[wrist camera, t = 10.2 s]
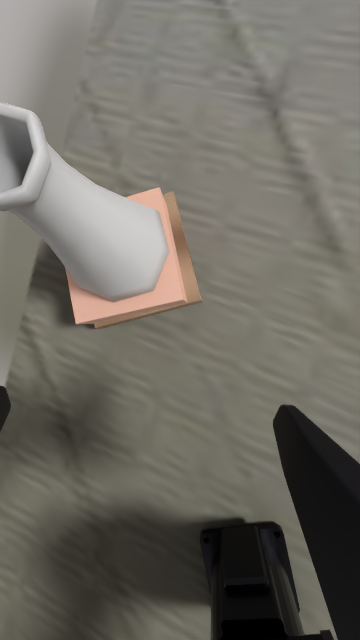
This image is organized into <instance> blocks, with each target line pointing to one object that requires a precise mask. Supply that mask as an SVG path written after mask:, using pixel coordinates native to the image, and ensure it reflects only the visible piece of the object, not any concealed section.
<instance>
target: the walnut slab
mask: <svg viewBox="0 0 360 640" xmlns="http://www.w3.org/2000/svg"><path fill="white" fill-rule="evenodd" d="M162 195H163V197H164V200H165V202H166V205H167V209H168V214H169V219H170V224H171V228H172V233H173V238H174V243H175V247H176V252H177V257H178V261H179V266H180V271H181V276H182V280H183V285H184V290H185V294H186V299H187V303H184V304H179V305H175V306H170V307H166V308H161V309H157V310H153V311H148V312H144V313H139V314H135V315H130V316H126V317H121V318H117V319H112V320H108V321H103V322H99V323H95V324H94V326H95V328H106V327H110V326H114V325H117V324H121V323H125V322H129V321H132V320H136V319H140V318H144V317H147V316H151V315H155V314H159V313H162V312H166V311H170V310H174V309H178V308H181V307H185V306H189V305H193V304H196V303H200V302H202V299H201V296H200V292H199V288H198V284H197V280H196V276H195V272H194V268H193V265H192V261H191V257H190V253H189V249H188V245H187V241H186V237H185V233H184V230H183V226H182V222H181V218H180V214H179V210H178V206H177V202H176V199H175V196H174V192H173V191H171V192H168V193H165V194H162Z"/></svg>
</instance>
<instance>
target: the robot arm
mask: <svg viewBox="0 0 360 640" xmlns="http://www.w3.org/2000/svg"><path fill="white" fill-rule="evenodd" d="M10 408H11V403H10V400H9V397H8V394H7V390H6V388H5V387H4V386H0V431H1V429H2V427H3V425H4V422H5V420H6V418H7V416H8V414H9V412H10ZM273 428H274V433H275V437H276V442H277V446H278V451H279V455H280V459H281V464H282V468H283V472H284V475H285V479H286V482H287V485H288V488H289V491H290V494H291V497H292V500H293V503H294V507H295V510H296V513H297V516H298V519H299V522H300V525H301V528H302V531H303V534H304V537H305V540H306V543H307V546H308V549H309V553H310V556H311V559H312V562H313V565H314V568H315V571H316V574H317V577H318V580H319V583H320V586H321V589H322V592H323V596H324V599H325V602H326V605H327V608H328V611H329V614H330V617H331V620H332V623H333V626H334V629H335V632H336V635H337V638H338V640H360V464H359V463H358V462H357V461H356V460H355V459H354V458H352V457H351V456H350V455H349V454H348V453H347V452H346V451H345V450H343V449H342V448H341V447H340V446H339V445H338V444H337V443H336V442H334V441H333V440H332V439H331V438H330V437H329V436H328V435H327V434H325V433H324V432H323V431H322V430H321V429H320V428H319V427H318V426H316V425H315V424H314V423H313V422H312V421H311V420H310V419H309V418H307V417H306V416H305V415H304V414H303V413H302V412H301V411H300V410H299V409H297V408H296V407H295V406H293V405H281V406H280V407H279V409H278V411H277V413H276V415H275V418H274V420H273ZM275 531H278V533H274V532H275ZM204 537H208V538H209V539H205V538H204ZM200 542H201V547H202V553H203V558H204V563H205V568H206V573H207V578H208V583H209V588H210V593H211V640H334V639H333V637H332V634H331V632H330V630H322V631H320V634H310V635H305V634H304V631H303V627H302V624H301V621H300V617H299V614H298V613H299V611H300V608H299V603H298V599H297V594H296V589H295V585H294V580H293V575H292V571H291V566H290V561H289V557H288V552H287V547H286V543H285V538H284V534H283V531H282V528H281V526H280V525H278V524H264V525H253V526H242V527H230V528H219V529H208V530H203V531H202V532H201V534H200Z"/></svg>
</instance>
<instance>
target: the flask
mask: <svg viewBox="0 0 360 640" xmlns="http://www.w3.org/2000/svg"><path fill="white" fill-rule="evenodd" d="M0 211H9V212H11V213H13V214H14V215H16V216H17V217H19V218H20V219H21V220H22V221H23V222H24V223H26V224H27V225H28V226H29V227H30V228H32V229H33V230H34V231H35V232H36V233H38V234H39V235H40V236H41V237H42V238H43V239H44V240H45V241H46V243H47V244H48V245H49V246H50V248H51V249H52V250H53V252H54V253H55V254H56V255H57V257H58V258H59V259H60V260H61V262H62V263H63V264H64V266H65V267H66V269H67V270H68V272H69V273H70V275H71V276H72V278H73V279H74V280H75V282H76V283H77V284H78V286H79V287H80V288H83V289H85V290H87V291H90V292H92V293H95V294H97V295H100V296H102V297H104V298H107V299H109V300H112V301H114V302H117V301H120V300H124V299H127V298H131V297H134V296H137V295H141V294H144V293H148V292H151V291H154V289H155V287H156V284H157V282H158V279H159V277H160V274H161V272H162V269H163V267H164V264H165V262H166V259H167V257H168V254H169V247H168V243H167V240H166V236H165V232H164V228H163V224H162V221H161V217H160V213H159V211H157V210H155V209H153V208H150V207H147V206H145V205H142V204H139V203H137V202H134V201H132V200H129V199H127V198H125V197H122V196H120V195H118V194H116V193H114V192H111V191H109V190H107V189H105V188H102V187H100V186H98V185H96V184H94V183H93V182H92V181H90V180H89V179H87V178H86V177H85V176H83V175H82V174H80V173H79V172H78V171H76V170H75V169H73V168H72V167H71V166H69V165H68V164H67V163H66V162H65V161H64V160H63V159H62V158H61V157H60V156H59V155H58V154H57V153H56V152H55V151H54V150H53V149H52V148H51V146H50V145H49V144H48V143H47V142H46V139H45V135H44V130H43V127H42V124H41V122H40V120H39V118H38V117H37V116H36V115H35V114H34V113H33V112H32V111H29V110H26V109H23V108H20V107H16V106H13V105H10V104H7V103H4V102H0Z"/></svg>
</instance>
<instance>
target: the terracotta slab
mask: <svg viewBox="0 0 360 640" xmlns="http://www.w3.org/2000/svg"><path fill="white" fill-rule="evenodd" d="M125 198H127V199H129V200H132V201H134V202H137V203H139V204H142V205H145V206H147V207H150V208H153V209H155V210H157V211H159V213H160V217H161V221H162V224H163V228H164V232H165V236H166V240H167V243H168V247H169V254H168V257H167V259H166V262H165V264H164V267H163V269H162V272H161V274H160V277H159V279H158V282H157V284H156V287H155V289H154V291H151V292H148V293H144V294H141V295H137V296H134V297H131V298H127V299H124V300H120V301H117V302H114V301H112V300H109V299H107V298H104V297H102V296H100V295H97V294H95V293H92V292H90V291H87V290H85V289H83V288H80V287H79V286H78V284H77V283H76V282H75V280H74V279H73V278H72V276H71V275H70V273H69V272H68V270H67V269H66V267H65V269H66V274H67V279H68V285H69V290H70V295H71V301H72V306H73V311H74V316H75V322H76V324H95V323H99V322H103V321H108V320H112V319H117V318H121V317H126V316H130V315H135V314H139V313H144V312H148V311H153V310H157V309H161V308H166V307H170V306H175V305H179V304H184V303H187V299H186V294H185V290H184V285H183V280H182V276H181V271H180V266H179V261H178V257H177V252H176V247H175V243H174V238H173V233H172V228H171V224H170V219H169V214H168V209H167V205H166V202H165V200H164V197H163V195H162V192H161V190H160V187H159V188H155V189H152V190H149V191H145V192H142V193H139V194H135V195H132V196H128V197H125Z"/></svg>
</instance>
